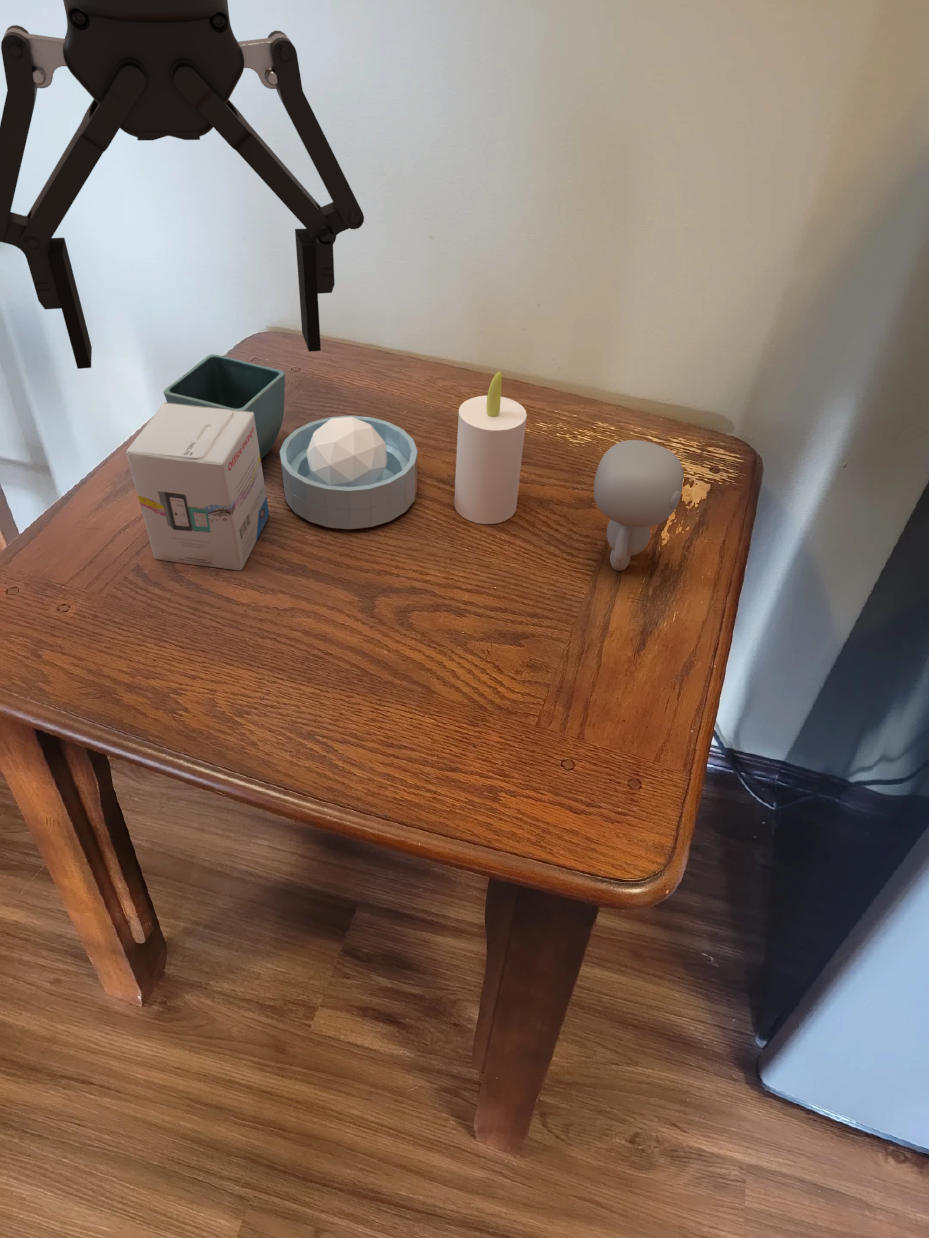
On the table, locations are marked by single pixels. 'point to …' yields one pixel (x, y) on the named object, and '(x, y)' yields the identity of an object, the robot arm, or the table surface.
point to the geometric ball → (346, 453)
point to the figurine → (636, 494)
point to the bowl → (350, 502)
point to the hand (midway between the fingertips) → (201, 350)
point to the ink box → (200, 484)
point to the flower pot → (235, 392)
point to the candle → (489, 456)
